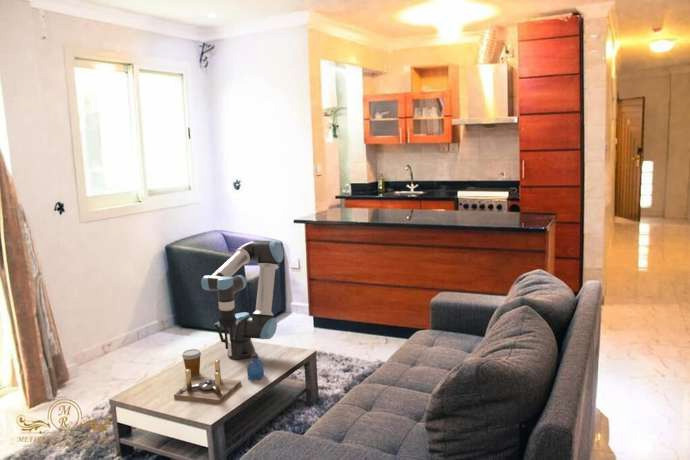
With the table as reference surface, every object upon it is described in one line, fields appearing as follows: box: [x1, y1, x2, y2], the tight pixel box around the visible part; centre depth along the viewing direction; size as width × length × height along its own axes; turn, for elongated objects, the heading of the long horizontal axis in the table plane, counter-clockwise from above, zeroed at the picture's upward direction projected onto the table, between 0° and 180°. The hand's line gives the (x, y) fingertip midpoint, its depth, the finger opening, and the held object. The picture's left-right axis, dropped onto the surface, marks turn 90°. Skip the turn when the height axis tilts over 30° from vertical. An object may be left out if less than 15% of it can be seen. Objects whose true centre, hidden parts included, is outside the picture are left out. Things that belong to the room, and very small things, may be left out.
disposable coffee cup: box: [181, 348, 202, 378], centre depth 296 cm, size 10×10×12 cm
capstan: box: [185, 359, 222, 394], centre depth 277 cm, size 16×18×10 cm
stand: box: [173, 375, 242, 405], centre depth 276 cm, size 21×24×4 cm
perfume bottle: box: [246, 353, 265, 381], centre depth 289 cm, size 6×6×12 cm
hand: (230, 354), depth 283 cm, fingers closed
